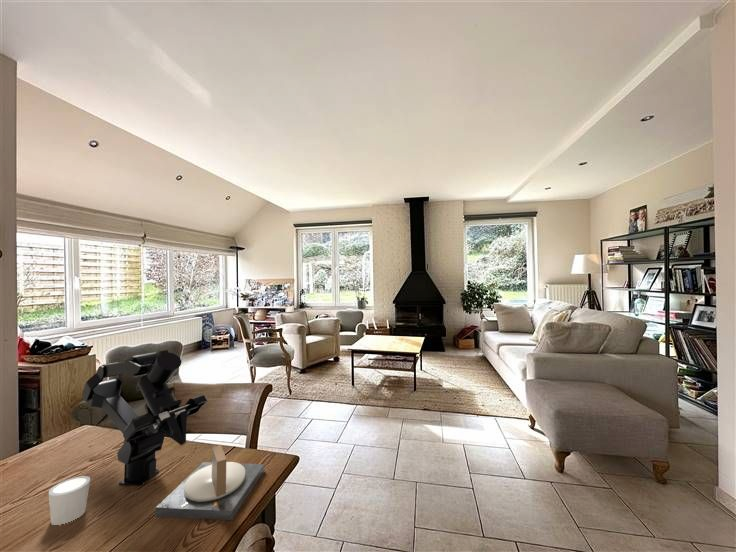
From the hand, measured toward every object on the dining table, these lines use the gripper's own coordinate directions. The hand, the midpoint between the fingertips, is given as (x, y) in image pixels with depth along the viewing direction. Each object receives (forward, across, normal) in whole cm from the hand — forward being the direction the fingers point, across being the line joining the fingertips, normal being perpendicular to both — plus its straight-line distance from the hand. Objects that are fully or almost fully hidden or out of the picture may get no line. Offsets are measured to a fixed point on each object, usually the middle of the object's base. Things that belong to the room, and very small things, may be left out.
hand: (183, 443), depth 75 cm
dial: (+12, -4, -3) cm, 13 cm away
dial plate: (+14, -5, -5) cm, 15 cm away
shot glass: (-3, +15, -22) cm, 27 cm away
